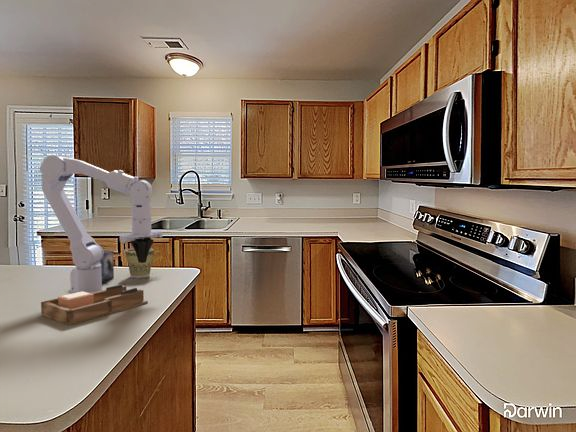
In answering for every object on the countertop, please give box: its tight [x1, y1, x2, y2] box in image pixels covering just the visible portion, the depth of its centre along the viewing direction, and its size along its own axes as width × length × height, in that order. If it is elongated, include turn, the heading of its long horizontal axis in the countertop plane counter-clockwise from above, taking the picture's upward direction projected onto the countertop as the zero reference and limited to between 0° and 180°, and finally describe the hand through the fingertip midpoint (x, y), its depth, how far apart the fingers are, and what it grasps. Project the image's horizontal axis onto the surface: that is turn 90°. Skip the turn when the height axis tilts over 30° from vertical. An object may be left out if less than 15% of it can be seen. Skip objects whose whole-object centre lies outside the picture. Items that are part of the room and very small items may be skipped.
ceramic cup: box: [125, 247, 162, 279], centre depth 165 cm, size 13×10×10 cm
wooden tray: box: [40, 283, 149, 326], centre depth 125 cm, size 13×24×4 cm, turn 146°
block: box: [57, 291, 94, 309], centre depth 119 cm, size 5×7×5 cm
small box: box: [100, 249, 115, 284], centre depth 156 cm, size 11×6×10 cm, turn 168°
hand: (142, 262), depth 139 cm, fingers closed
